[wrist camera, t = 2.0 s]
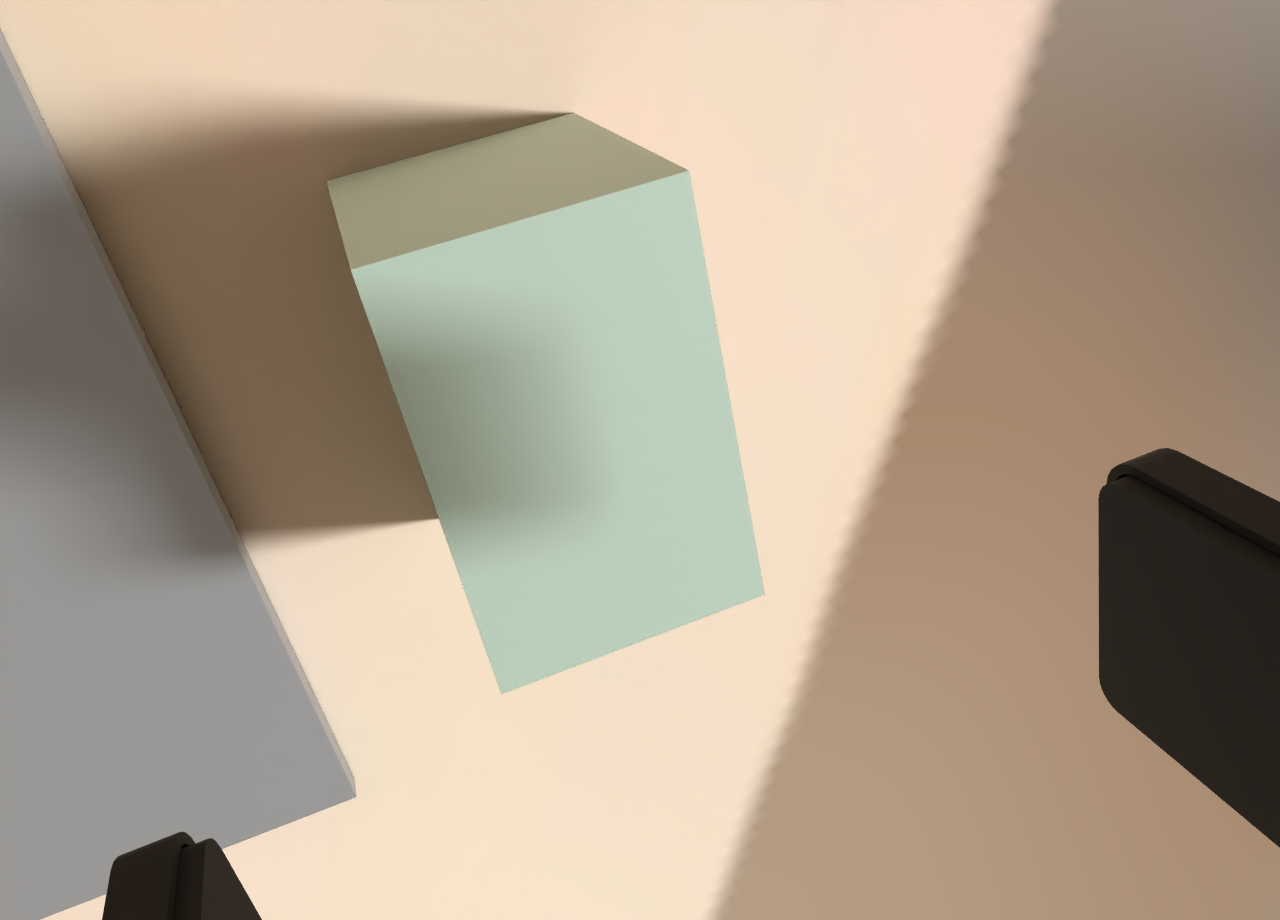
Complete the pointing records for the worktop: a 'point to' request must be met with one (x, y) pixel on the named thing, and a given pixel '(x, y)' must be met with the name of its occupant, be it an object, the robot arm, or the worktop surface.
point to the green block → (558, 385)
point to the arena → (120, 580)
